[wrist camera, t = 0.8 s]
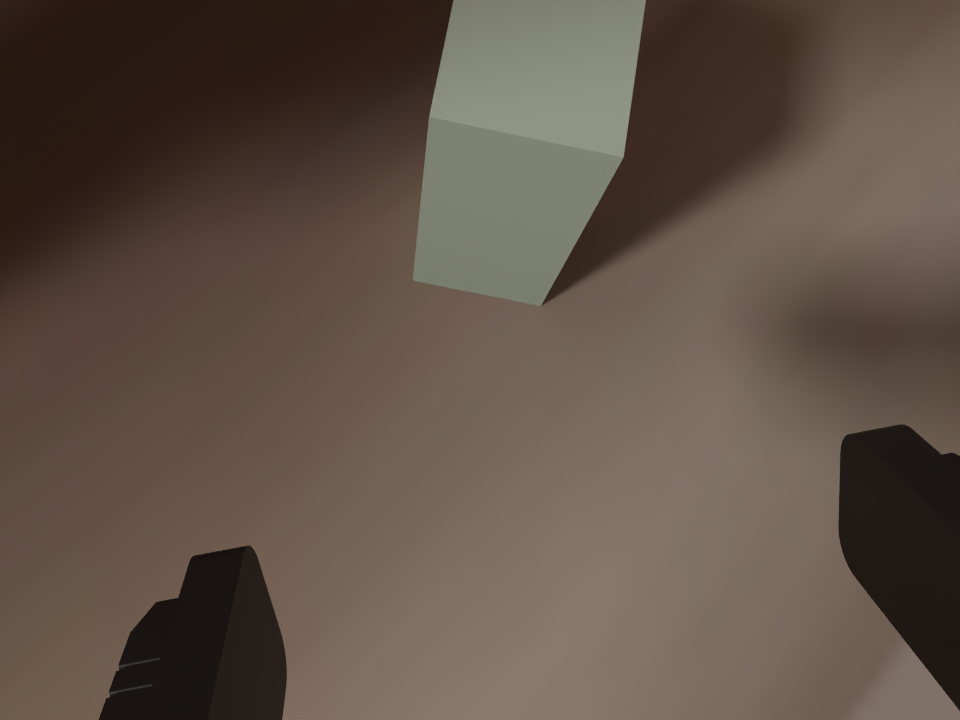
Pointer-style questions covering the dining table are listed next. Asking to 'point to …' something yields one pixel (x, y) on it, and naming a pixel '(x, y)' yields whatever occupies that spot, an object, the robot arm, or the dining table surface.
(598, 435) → the dining table surface
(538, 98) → the sage pillar
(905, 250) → the dining table surface
